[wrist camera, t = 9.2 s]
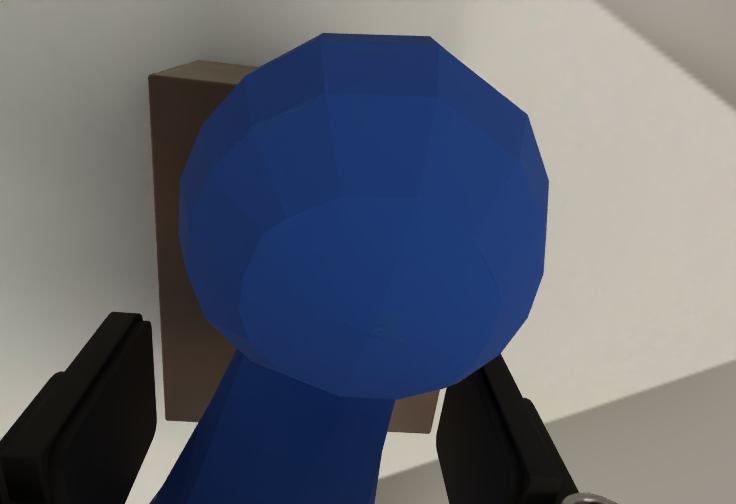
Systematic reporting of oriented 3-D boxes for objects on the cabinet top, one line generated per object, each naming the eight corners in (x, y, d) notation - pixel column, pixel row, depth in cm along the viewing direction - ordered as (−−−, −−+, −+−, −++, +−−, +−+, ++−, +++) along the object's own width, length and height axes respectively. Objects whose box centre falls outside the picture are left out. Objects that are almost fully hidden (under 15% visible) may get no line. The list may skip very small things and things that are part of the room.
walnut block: (196, 59, 17) (146, 74, 13) (458, 90, 18) (500, 114, 14) (200, 337, 22) (164, 421, 17) (411, 351, 23) (430, 434, 18)
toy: (341, 565, 16) (579, 93, 10) (341, 865, 11) (874, 209, 5) (114, 526, 15) (232, -40, 9) (-22, 843, 9) (51, -106, 3)
